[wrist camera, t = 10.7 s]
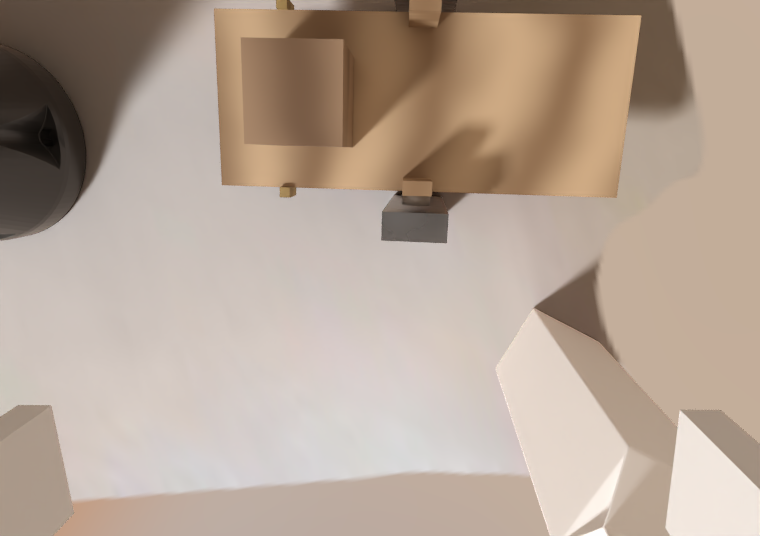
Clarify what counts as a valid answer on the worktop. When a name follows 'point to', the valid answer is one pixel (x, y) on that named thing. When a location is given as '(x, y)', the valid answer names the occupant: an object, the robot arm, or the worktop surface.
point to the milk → (587, 433)
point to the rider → (297, 92)
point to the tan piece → (447, 102)
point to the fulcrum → (416, 219)
